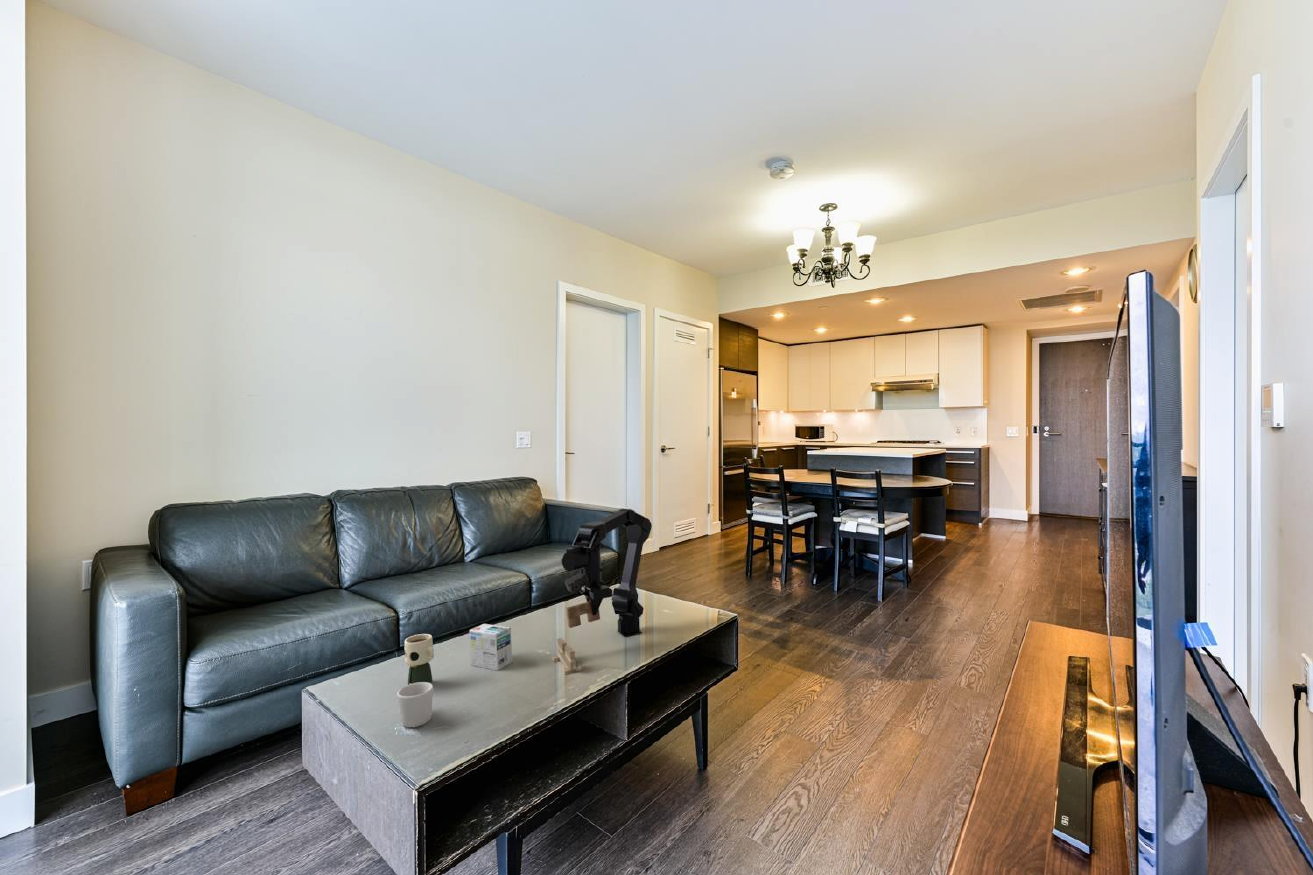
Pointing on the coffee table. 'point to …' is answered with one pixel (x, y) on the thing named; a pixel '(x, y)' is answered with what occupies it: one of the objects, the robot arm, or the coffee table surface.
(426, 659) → the character mug
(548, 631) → the coffee table surface
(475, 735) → the coffee table surface
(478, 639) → the light bulb box
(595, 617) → the walnut plate
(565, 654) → the maple jig
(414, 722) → the cup
